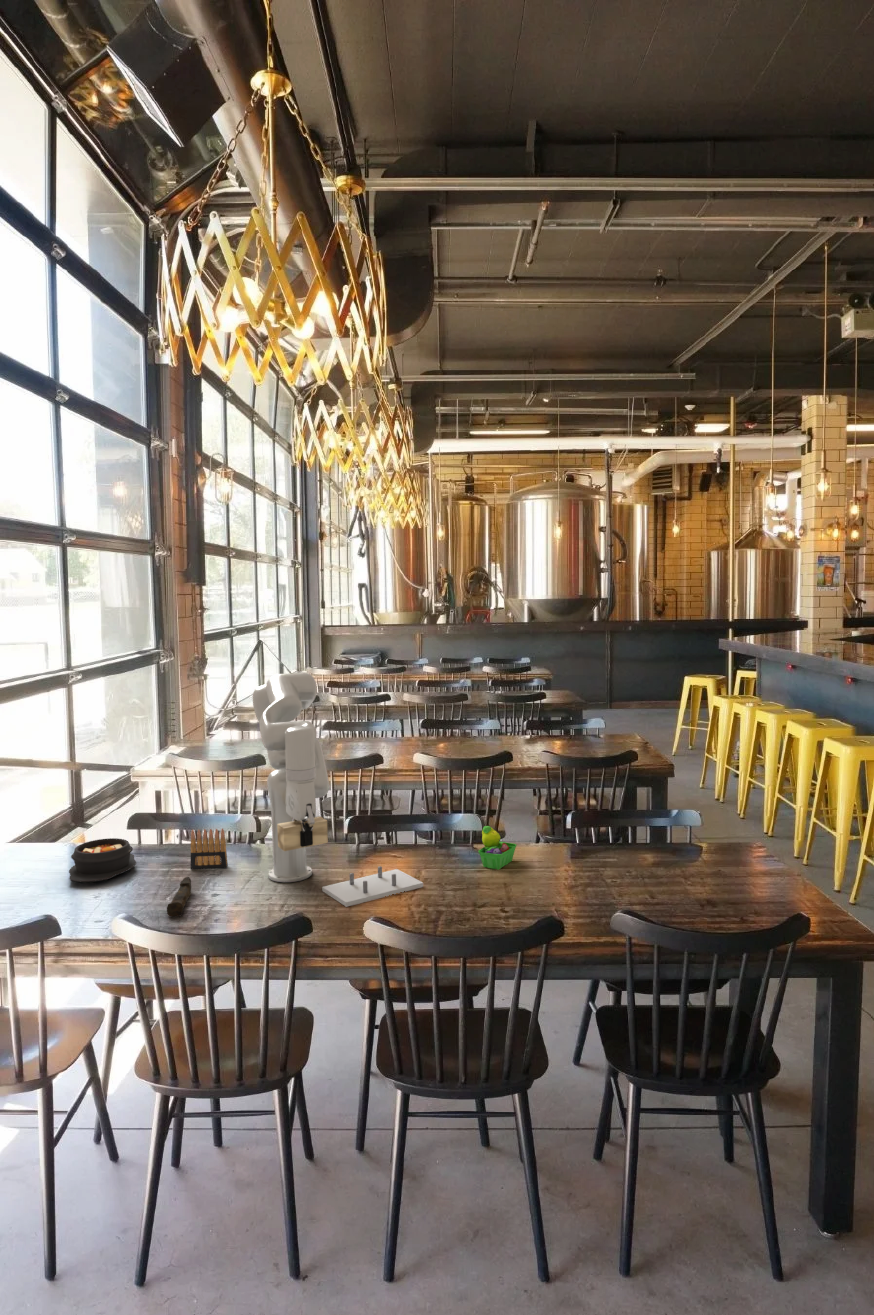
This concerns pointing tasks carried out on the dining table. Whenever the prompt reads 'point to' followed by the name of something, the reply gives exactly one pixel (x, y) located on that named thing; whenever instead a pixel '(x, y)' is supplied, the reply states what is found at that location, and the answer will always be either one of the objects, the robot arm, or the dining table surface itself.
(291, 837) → the block
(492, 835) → the fruit basket
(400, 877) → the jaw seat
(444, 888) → the dining table surface
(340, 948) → the dining table surface
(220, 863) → the ammunition clip
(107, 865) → the casserole
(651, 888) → the dining table surface
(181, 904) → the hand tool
